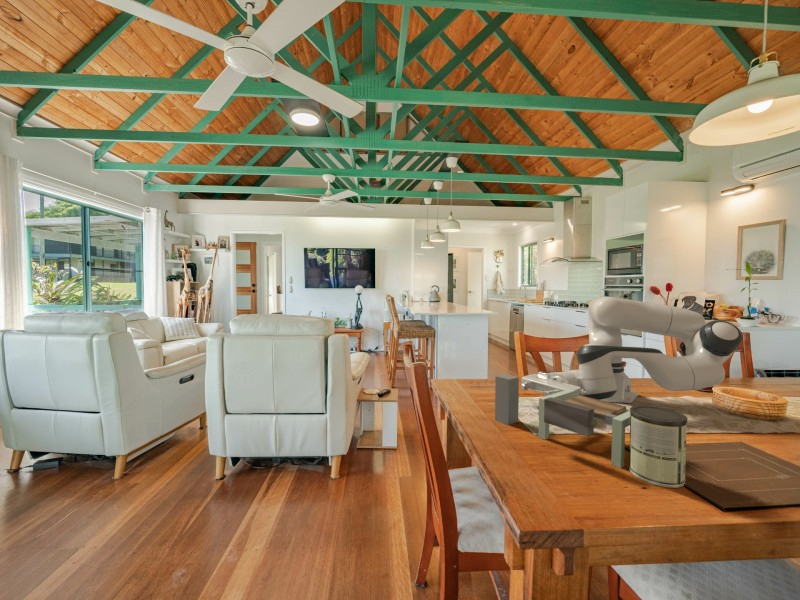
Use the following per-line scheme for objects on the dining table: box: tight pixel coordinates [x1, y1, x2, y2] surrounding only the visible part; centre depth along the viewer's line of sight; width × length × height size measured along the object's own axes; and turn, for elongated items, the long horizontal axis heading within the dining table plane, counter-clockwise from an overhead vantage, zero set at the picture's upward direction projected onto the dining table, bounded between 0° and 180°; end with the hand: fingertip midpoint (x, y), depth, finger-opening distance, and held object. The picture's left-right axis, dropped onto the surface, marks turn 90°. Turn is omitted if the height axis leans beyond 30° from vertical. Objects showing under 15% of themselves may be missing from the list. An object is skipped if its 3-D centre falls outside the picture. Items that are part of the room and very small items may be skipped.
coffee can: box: [628, 405, 688, 489], centre depth 78 cm, size 10×10×14 cm
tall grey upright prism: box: [494, 373, 520, 426], centre depth 111 cm, size 5×5×14 cm
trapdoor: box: [544, 395, 627, 437], centre depth 92 cm, size 20×12×6 cm, turn 126°
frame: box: [537, 389, 630, 469], centre depth 94 cm, size 16×21×11 cm
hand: (533, 390), depth 116 cm, fingers open, 8 cm apart
